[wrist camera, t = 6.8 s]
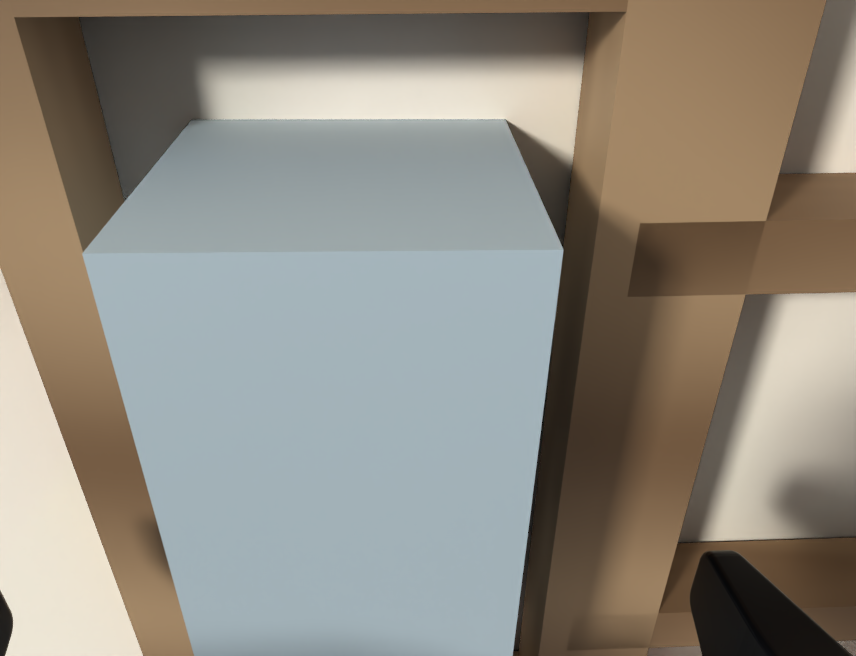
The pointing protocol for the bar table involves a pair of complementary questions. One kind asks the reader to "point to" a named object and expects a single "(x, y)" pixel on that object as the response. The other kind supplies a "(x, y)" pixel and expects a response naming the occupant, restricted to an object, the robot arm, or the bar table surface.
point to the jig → (576, 307)
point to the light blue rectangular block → (336, 378)
